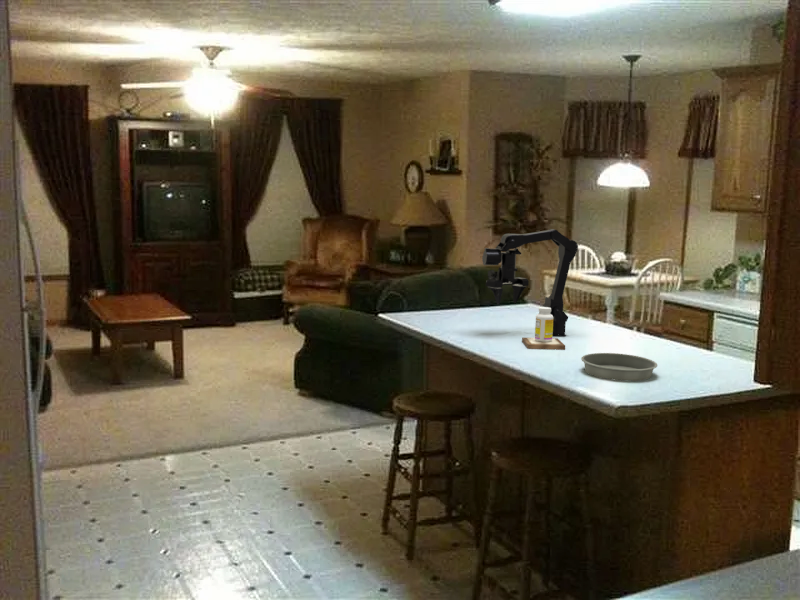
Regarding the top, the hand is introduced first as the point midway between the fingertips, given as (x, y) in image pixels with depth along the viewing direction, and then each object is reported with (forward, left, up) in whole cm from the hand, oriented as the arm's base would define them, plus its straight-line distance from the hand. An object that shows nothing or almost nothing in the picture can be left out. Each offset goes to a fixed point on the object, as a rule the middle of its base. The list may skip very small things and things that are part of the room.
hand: (506, 303), depth 335 cm
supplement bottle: (-12, +19, -11) cm, 25 cm away
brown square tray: (-12, +19, -13) cm, 26 cm away
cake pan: (-29, +62, -14) cm, 70 cm away
